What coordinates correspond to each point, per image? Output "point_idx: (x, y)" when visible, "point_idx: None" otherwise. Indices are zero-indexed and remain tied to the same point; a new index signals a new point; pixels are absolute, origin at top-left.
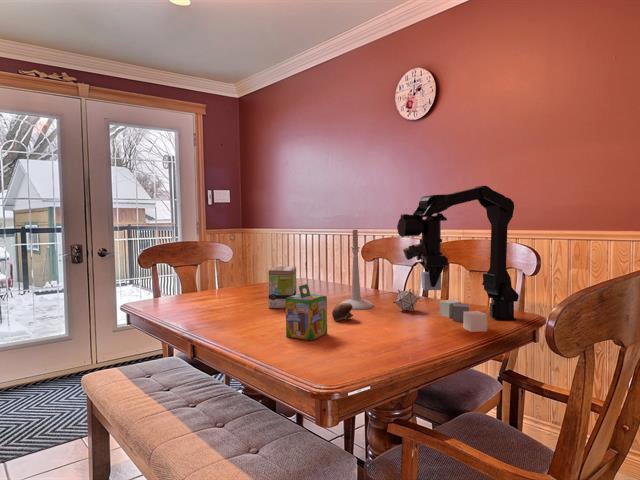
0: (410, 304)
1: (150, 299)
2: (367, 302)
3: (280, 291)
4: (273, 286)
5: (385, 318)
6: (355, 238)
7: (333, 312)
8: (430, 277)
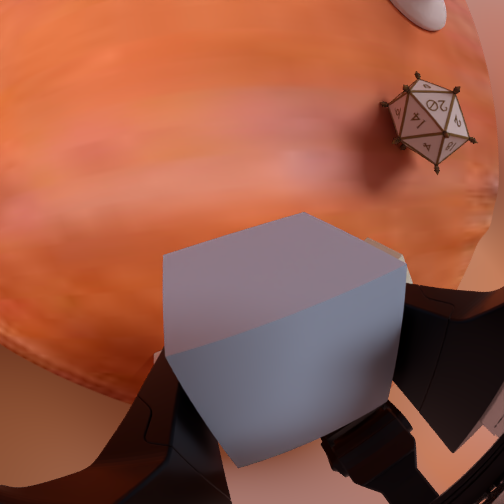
0: (399, 132)
1: None
2: (422, 8)
3: None
4: None
5: (278, 34)
6: None
7: None
8: (141, 392)
